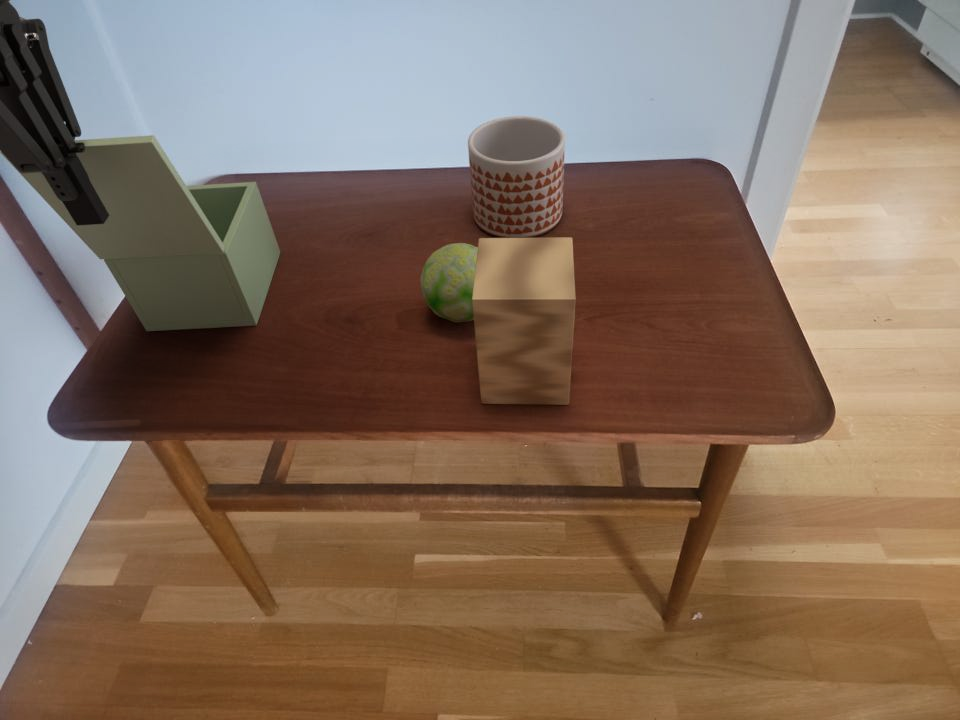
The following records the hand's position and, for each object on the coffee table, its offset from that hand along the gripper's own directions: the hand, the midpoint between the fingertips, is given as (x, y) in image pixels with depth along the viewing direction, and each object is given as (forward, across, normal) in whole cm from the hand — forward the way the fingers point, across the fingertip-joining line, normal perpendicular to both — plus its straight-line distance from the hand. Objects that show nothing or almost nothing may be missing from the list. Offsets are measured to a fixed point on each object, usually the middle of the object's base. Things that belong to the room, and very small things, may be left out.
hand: (93, 220), depth 64 cm
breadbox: (+23, +16, 0) cm, 28 cm away
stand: (+23, -3, -42) cm, 48 cm away
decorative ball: (+23, +9, -35) cm, 43 cm away
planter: (+23, +30, -43) cm, 58 cm away
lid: (+2, +6, 0) cm, 7 cm away
